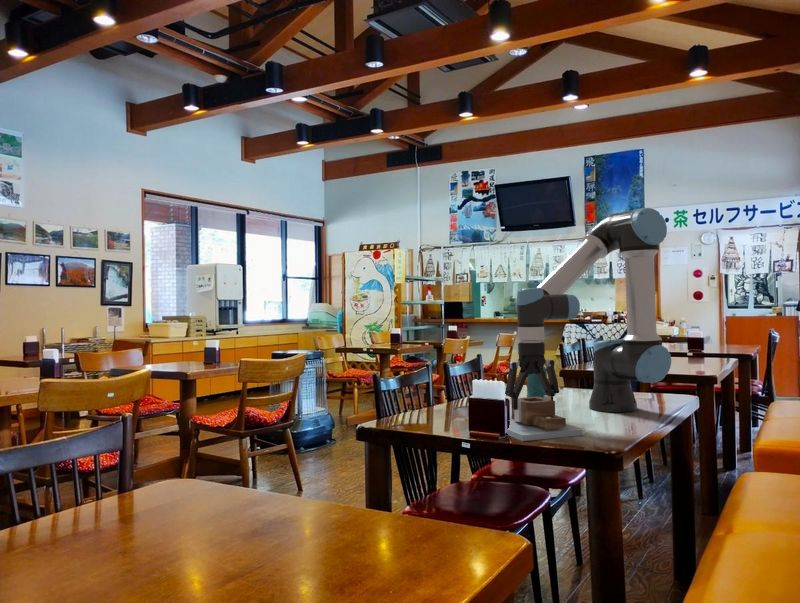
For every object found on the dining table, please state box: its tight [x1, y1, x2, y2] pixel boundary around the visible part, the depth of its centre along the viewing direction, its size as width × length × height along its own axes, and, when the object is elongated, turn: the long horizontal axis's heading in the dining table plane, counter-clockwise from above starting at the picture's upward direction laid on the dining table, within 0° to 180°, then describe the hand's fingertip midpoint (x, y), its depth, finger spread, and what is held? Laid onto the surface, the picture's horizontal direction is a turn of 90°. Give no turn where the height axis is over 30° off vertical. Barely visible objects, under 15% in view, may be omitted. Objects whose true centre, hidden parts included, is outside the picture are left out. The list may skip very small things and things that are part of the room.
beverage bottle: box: [525, 365, 548, 398], centre depth 190 cm, size 6×7×20 cm
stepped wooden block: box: [511, 396, 567, 429], centre depth 173 cm, size 16×9×6 cm, turn 18°
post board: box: [507, 417, 582, 442], centre depth 172 cm, size 18×19×6 cm
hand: (533, 419), depth 177 cm, fingers closed on stepped wooden block, 9 cm apart
